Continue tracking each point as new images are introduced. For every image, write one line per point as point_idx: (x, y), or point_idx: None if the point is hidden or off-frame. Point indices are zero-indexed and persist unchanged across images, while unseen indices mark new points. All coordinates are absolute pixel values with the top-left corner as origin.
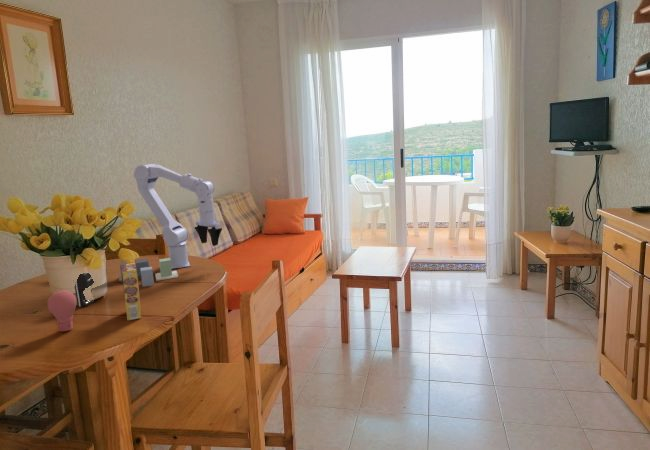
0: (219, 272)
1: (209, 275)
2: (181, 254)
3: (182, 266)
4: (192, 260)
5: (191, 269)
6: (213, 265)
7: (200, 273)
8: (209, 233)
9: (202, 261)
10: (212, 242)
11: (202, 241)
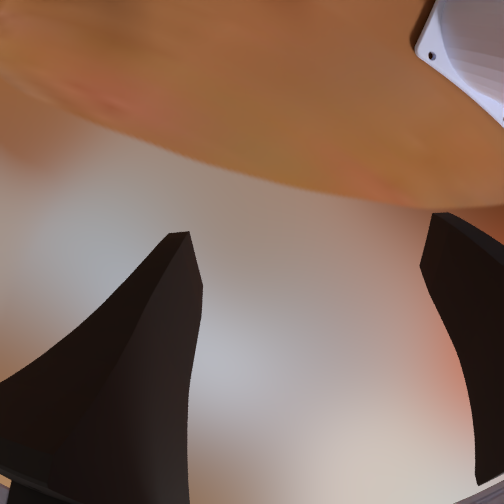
0: (101, 115)
1: (86, 39)
2: (498, 20)
3: (434, 10)
4: (497, 157)
5: (340, 11)
6: (296, 166)
7: (179, 4)
8: (102, 380)
9: (437, 176)
10: (151, 256)
11: (444, 230)
